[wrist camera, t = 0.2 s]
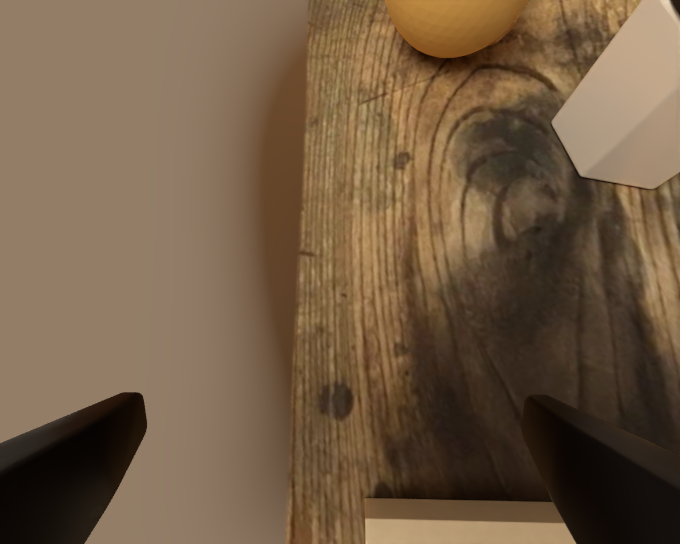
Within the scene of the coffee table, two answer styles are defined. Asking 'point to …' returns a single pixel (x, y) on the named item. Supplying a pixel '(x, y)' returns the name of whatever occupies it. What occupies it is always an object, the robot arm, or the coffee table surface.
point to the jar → (629, 103)
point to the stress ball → (453, 24)
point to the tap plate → (463, 522)
